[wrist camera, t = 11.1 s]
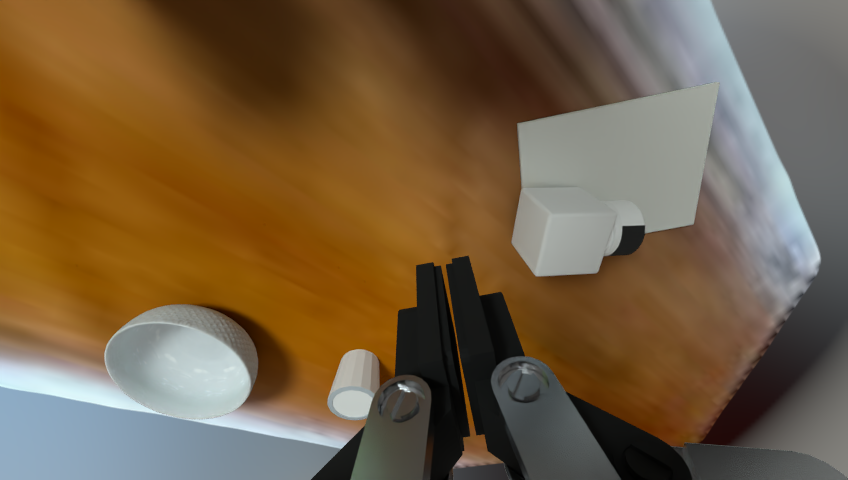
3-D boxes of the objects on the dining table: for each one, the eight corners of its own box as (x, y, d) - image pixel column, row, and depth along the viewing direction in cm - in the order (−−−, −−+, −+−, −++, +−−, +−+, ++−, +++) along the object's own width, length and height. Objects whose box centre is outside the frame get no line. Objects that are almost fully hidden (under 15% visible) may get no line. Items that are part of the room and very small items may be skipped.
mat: (516, 123, 37) (518, 124, 37) (715, 82, 36) (719, 82, 36) (526, 252, 45) (527, 254, 45) (690, 222, 44) (693, 224, 43)
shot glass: (328, 355, 52) (316, 396, 46) (369, 340, 51) (363, 380, 45) (351, 384, 56) (344, 426, 49) (391, 370, 54) (388, 412, 48)
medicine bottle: (510, 243, 43) (601, 240, 45) (534, 278, 37) (640, 272, 38) (520, 186, 39) (619, 185, 41) (549, 214, 33) (665, 211, 35)
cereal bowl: (291, 325, 50) (274, 365, 43) (240, 391, 56) (219, 435, 49) (166, 263, 44) (127, 299, 38) (125, 344, 50) (84, 386, 44)
